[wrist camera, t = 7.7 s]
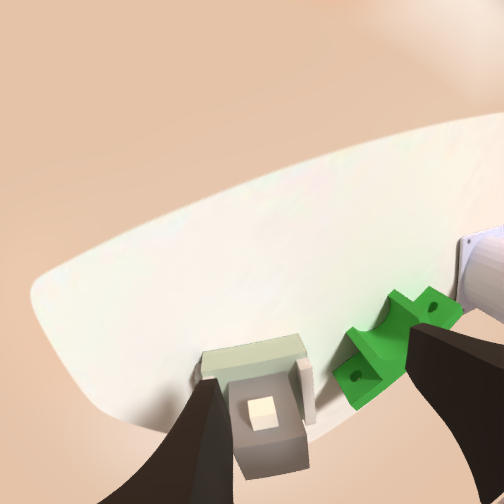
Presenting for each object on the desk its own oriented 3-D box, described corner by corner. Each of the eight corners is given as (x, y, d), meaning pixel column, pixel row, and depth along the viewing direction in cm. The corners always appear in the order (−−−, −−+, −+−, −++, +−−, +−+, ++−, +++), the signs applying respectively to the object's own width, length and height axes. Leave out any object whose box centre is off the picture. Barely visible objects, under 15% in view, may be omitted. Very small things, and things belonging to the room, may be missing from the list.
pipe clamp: (417, 263, 20) (453, 280, 16) (431, 293, 21) (464, 312, 17) (315, 355, 21) (334, 391, 16) (337, 378, 22) (357, 412, 17)
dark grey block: (283, 357, 18) (305, 421, 12) (291, 408, 19) (309, 468, 13) (224, 368, 17) (225, 436, 12) (240, 418, 19) (246, 480, 13)
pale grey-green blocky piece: (298, 333, 20) (311, 361, 16) (305, 397, 22) (316, 426, 18) (192, 353, 20) (187, 384, 16) (215, 414, 21) (215, 445, 18)
